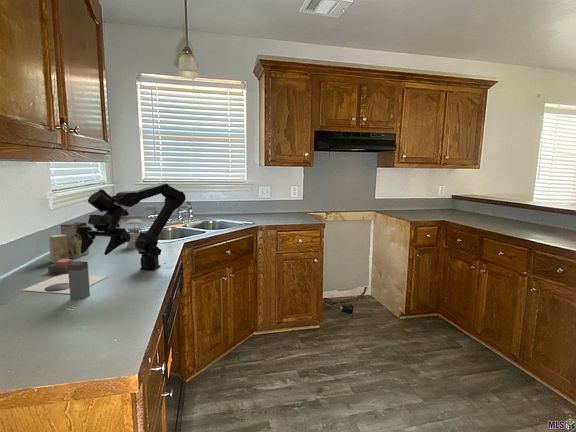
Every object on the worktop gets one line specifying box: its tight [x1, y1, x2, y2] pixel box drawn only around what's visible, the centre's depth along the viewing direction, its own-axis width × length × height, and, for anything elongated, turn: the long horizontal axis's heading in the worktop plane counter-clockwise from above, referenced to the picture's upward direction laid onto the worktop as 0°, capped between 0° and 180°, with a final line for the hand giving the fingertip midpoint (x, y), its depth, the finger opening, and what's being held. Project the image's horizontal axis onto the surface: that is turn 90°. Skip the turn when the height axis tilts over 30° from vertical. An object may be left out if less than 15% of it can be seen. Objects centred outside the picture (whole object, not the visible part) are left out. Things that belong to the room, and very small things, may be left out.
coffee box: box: [60, 221, 90, 259], centre depth 160 cm, size 9×6×16 cm
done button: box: [54, 258, 74, 266], centre depth 138 cm, size 4×4×3 cm
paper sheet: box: [21, 274, 108, 295], centre depth 124 cm, size 20×18×1 cm
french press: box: [125, 205, 145, 249], centre depth 181 cm, size 10×12×25 cm
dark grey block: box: [68, 260, 91, 301], centre depth 111 cm, size 4×4×12 cm
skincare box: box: [48, 234, 70, 264], centre depth 151 cm, size 6×4×12 cm
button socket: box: [47, 260, 77, 275], centre depth 138 cm, size 8×8×3 cm
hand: (93, 253), depth 117 cm, fingers open, 9 cm apart
